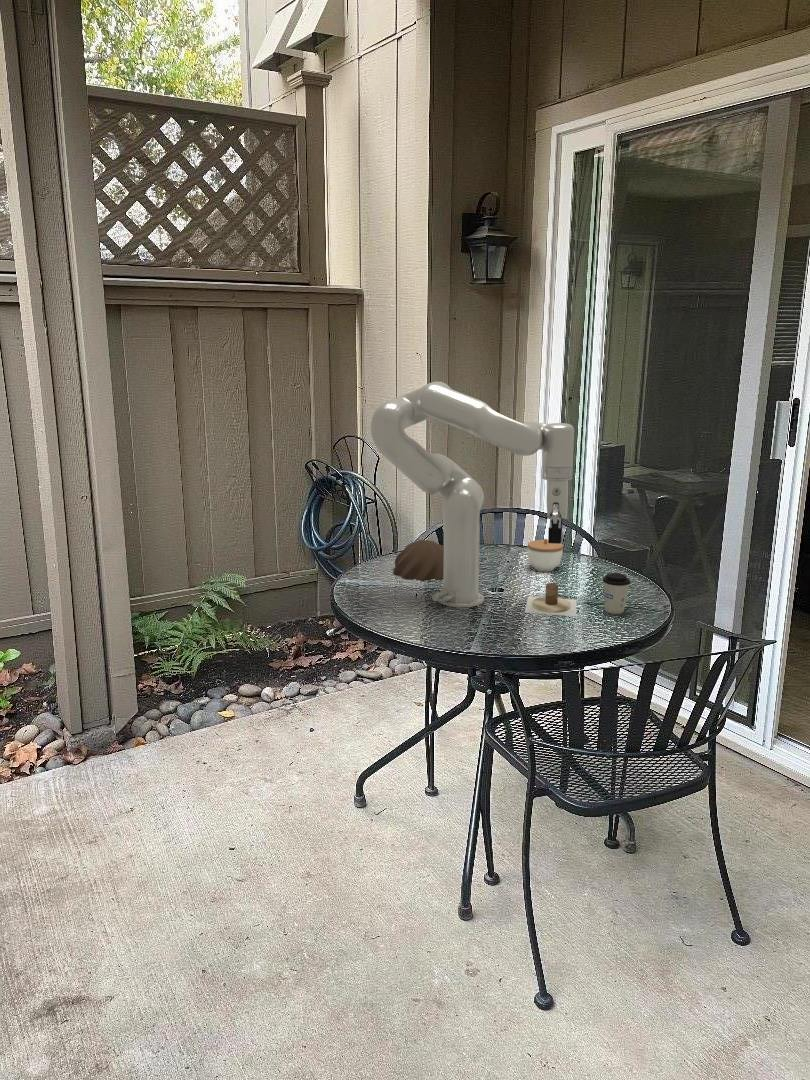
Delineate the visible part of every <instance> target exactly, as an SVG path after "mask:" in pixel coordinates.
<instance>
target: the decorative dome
mask: <svg viewBox="0 0 810 1080" xmlns="http://www.w3.org/2000/svg"><path fill="white" fill-rule="evenodd" d="M443 556H444V545H442V544H440V543H438V542H436V541H434V540H430V539H429V540H428V539H420V540H416V541H413V542H411V543H409V544H407V545H406V546H405V548H404V549H403V550H401V551H400V553H399V554H397V556H396V557H395V560H394V569H393V572H392V574H395V575H397V576H400V578H401V577H402V578H401V579H405V580H414V579H416V580H415V581H418V580H420V581H419V582H425V581H424V580H428V581H432V580H431V579H435V580H434V581H443V580H442V579H443Z"/></svg>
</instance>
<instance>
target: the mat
mask: <svg viewBox="0 0 810 1080" xmlns="http://www.w3.org/2000/svg"><path fill="white" fill-rule="evenodd" d="M540 597H541V596H528V597H527V600H526V603H525V604H526V605H525V608H524V613H526V614H537V615H553V616H565V617H566V616H567V617H577V605H578V603H577V602H578V601H577V599H573V598H572V599H571V598H564V599H565V600H567V601H569V602H570V603H571V608H570V609H569V610H567V611H564V612H544V611H540V610H537V609H535V608H534V607H533V606H532V601H533V600H534V599H536V598H540Z"/></svg>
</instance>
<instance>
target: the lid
mask: <svg viewBox="0 0 810 1080" xmlns="http://www.w3.org/2000/svg"><path fill="white" fill-rule="evenodd" d="M539 597H540V598H536V599H534V600H533V601H532V606H533V607H534V608H535V609H537V610H540V611H544V612H564V611H567V610H569V609H570V608H571V603H570V602H569V601H567V600H565V599H566V598H561V597H559V584H558V583H553V582H552V583H551V582H548V583H546V584H545V595H544V596H539Z"/></svg>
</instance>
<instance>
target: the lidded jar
mask: <svg viewBox="0 0 810 1080" xmlns="http://www.w3.org/2000/svg"><path fill="white" fill-rule="evenodd" d="M563 550H564V544H563V543H562V542H561V543H560V544H556V543H548V538H543V539H535V540H532V541H529V542H528V543H527V554H528V555H527V556H528V561H529V562H530V564H531V566H532V567H533V568H534V569H535V570H536V571H539V572H552V571H555V569H556V568H557V567H558V566H559V564H560V563H561V561H562V557H563Z"/></svg>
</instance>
